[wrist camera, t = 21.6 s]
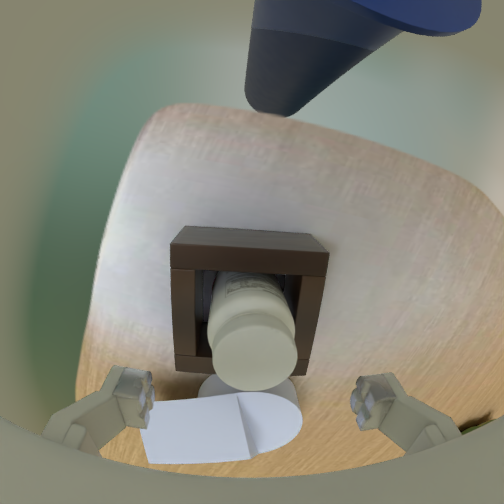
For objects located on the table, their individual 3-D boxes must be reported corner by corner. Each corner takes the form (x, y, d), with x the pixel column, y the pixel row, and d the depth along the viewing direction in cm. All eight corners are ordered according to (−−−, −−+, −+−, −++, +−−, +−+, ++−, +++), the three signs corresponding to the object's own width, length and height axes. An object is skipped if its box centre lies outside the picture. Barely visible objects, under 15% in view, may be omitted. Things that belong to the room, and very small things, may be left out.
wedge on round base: (177, 436, 25) (300, 419, 25) (170, 486, 19) (313, 472, 19) (143, 377, 23) (289, 355, 23) (123, 432, 16) (305, 414, 16)
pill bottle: (252, 328, 22) (263, 408, 14) (199, 295, 21) (183, 371, 13) (292, 281, 21) (325, 349, 13) (238, 243, 20) (243, 299, 12)
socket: (184, 225, 19) (169, 243, 15) (310, 233, 20) (330, 252, 16) (185, 335, 22) (175, 371, 17) (294, 339, 22) (305, 375, 18)
